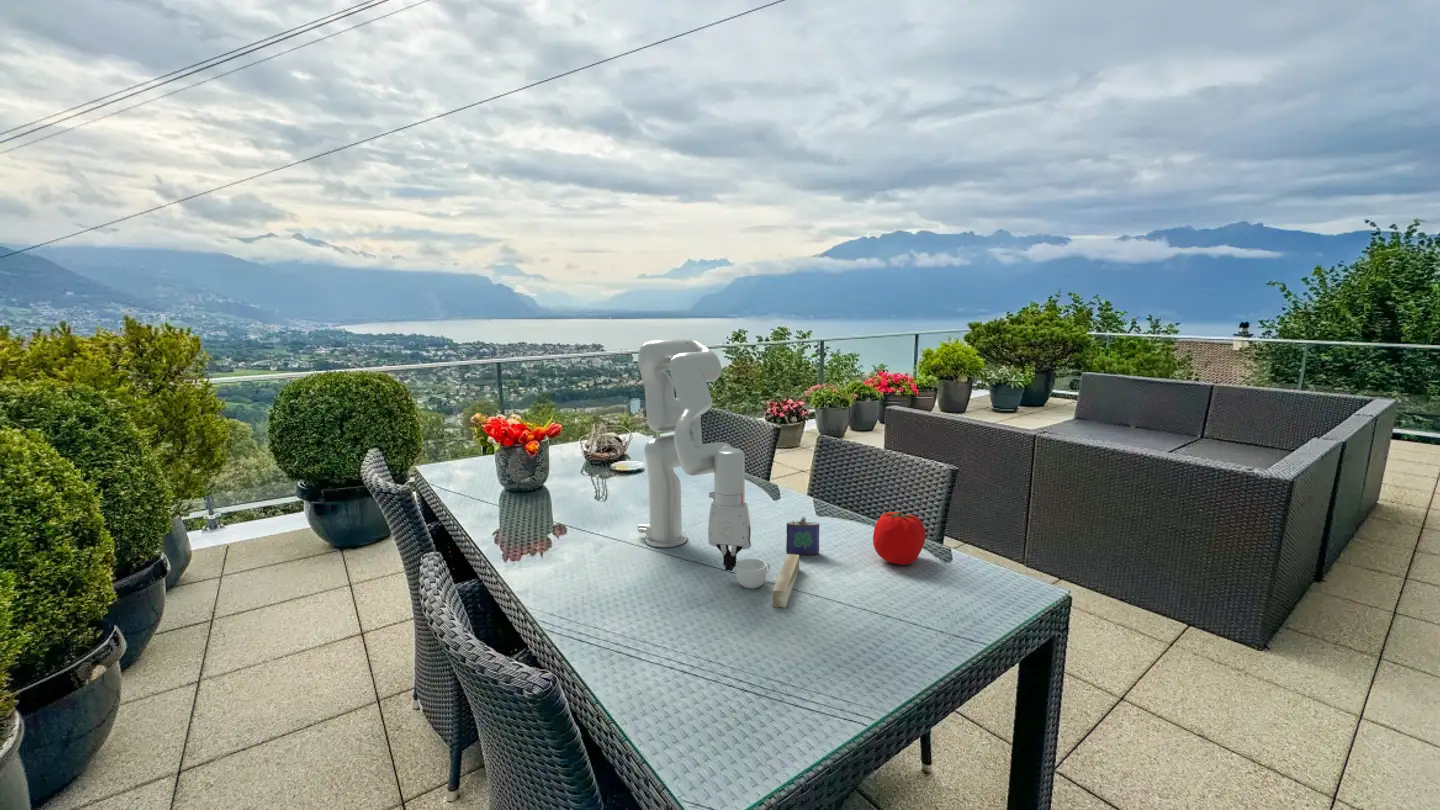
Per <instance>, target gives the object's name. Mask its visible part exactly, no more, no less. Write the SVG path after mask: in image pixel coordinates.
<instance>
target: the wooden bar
mask: <svg viewBox="0 0 1440 810" xmlns="http://www.w3.org/2000/svg"><path fill="white" fill-rule="evenodd" d="M799 571H800V556H799V555H795V554H787V555H786V557H785V559H784V562H783V565H782V566H781V569H780V572H779V573H778V576H777V578H776V582H775V583H774V586H773V588H772V607H773V606H774V607H773V608H778V607H782V608H781V609H787V606H788V603H789V599H790V597H791V594H792V592H791V591H793V588H794V585H795V582H796V579H797V576H798V574H799Z"/></svg>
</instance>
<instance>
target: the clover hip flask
mask: <svg viewBox="0 0 1440 810" xmlns="http://www.w3.org/2000/svg"><path fill="white" fill-rule="evenodd" d="M806 517H807V516H802V517H801V519H800V520H799V521H798V520H792V521H787V522H786V544H785V545H786V546H785V547H786V548H785V549H786V550H785V551H786V554H787V555H788V554H795V555H801V556H816V555H818V556H819V554H820V523H819V522H817V521H811V522H810V521H808V522H807V519H806Z"/></svg>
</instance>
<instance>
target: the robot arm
mask: <svg viewBox="0 0 1440 810" xmlns="http://www.w3.org/2000/svg"><path fill="white" fill-rule="evenodd" d="M637 362H638V368H639V372H640V376H641V378H642V380H643V384H644V397H645V411H646V420H647V424H648V427H649V429H650V430H652V431H653V432H656V433H663V432H672V431H674V434H670V435H663V436H657V437H654V438H651V439H650V440H648V442H646V443H645V446H644V451H643V452H644V453H643V454H644V459H645V463H646V468H647V469H646V470H647V476H648V477H647V479H648V503H649V504H648V506H649V508H648V509H649V524H645V523H639V524H637V531H638V533H640V534H641V533H645V534H646V535H645V536H644V542H645V544H647V545H648V546H651V547H654V548H655V547H656V548H664V549H665V548H673V547H677V546H681V545H683V544H684V543H686V542H687V540H688V535H687V533H685V532H684V531H683V529H682V528H683V526H682V525H683V524H682V521H683V520H682V484H681V479H680V478H679V476H678V474H676V473H675V471H674V469H675V468H679V467H680V468H682V471H683V472H684V473H686V474H687V476H701V475H705V474H707V475H708V474H712V473H713V477H714V478H713V480H714V481H713V482H714V483H713V484H714V487H713V489H714V490H713V491H712V492H711V491H710V492H709V493H708V498H712V499H713V502H712V503H711V504H710V508H709V513H708V515H709V516H708V528H707V540H708V544H709V545H710V546H712V547H716V548H717V549H718V550H719V551H720V552H721V554H722V555H723V556H722V557H723V558H722V559H723V560H722V561H723V566H724V567H725V571H727V572H728V571H730V572H732V571H733V569H735V568H736V562H737V554H738V553H739V552H740V551H742V550H747V549H750V548H751V546H752V543H751V534H752V532H751V530H752V529H751V518H750V511H749V505H748V503H747V502H746V501H745V500H746V499H745V498H746V495H745V494H746V491H745V488H746V485H745V484H746V483H745V482H746V479H745V478H746V477H745V476H746V473H745V469H746V467H745V466H746V465H745V459H746V457H745V452H744V451H743V450H742V449H740V448H737V447H733V446H731V445H730V444H729V443H727V442H723V441H720V442H710V443H703V437H702V434H703V433H702V424H701V423H702V421H701V416H702V415H703V414H705V413H706V412H708V411H709V410H710V409H711V408H712V406H713V399H712V397H711V393H710V390H709V387H708V383H707V382H709V383H710V382H715V381H716V380H719V378H720V377H721V373H722V366H721V361H720V358H719V357H718V356H717V354H716V353H715V352H714V351H712V349H710V348H709V347H707V346H705V345H704V344H702V343H701V342H700V341H698V340H695V339H691V338H685V339H684V338H682V339H680V338H678V339H677V338H675V339H673V338H672V339H670V338H668V339H667V338H665V339H653V340H649V341H646V342H644V343H643V344H642V345H641V346H640V347H639V350H638V357H637ZM666 370H669V373H670V375H669V374H668V373H667V372H666ZM675 393H676V396H677V397H676V396H675ZM730 546H731V550H730Z"/></svg>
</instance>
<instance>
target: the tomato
mask: <svg viewBox="0 0 1440 810" xmlns="http://www.w3.org/2000/svg"><path fill="white" fill-rule="evenodd" d="M926 537H927V536H926V529H925V526H924V524H923V522H922V520H921V519H920V518H919V517H917V516H916V515H912V514H903V513H901V511H899V512H898V511H897V512H896V511H887V512H883V513H882V514H881V515H880V517H879V518H878V520H877V521H876V523H875V524H874V529H873V534H872V544H873V548H874V550H875V552H876V554H877V555H878V556H879V557H880V558H881V559H883V560H884V561H885V562H888V563H889V564H895V565H899V566H906V565H911V564H912V563H914V562H915V561H916V560H917V559H918V557H919V555H920V553H921V552H922V549H923V548H924V544H925V541H926Z"/></svg>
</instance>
